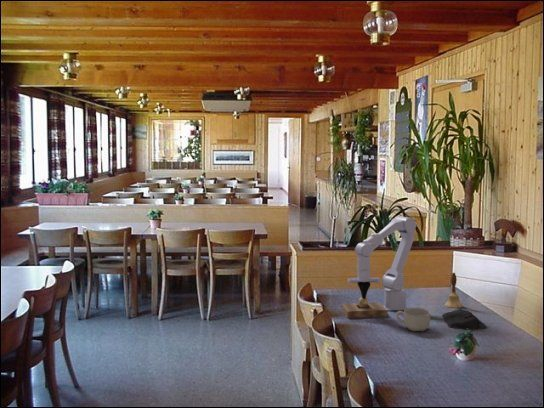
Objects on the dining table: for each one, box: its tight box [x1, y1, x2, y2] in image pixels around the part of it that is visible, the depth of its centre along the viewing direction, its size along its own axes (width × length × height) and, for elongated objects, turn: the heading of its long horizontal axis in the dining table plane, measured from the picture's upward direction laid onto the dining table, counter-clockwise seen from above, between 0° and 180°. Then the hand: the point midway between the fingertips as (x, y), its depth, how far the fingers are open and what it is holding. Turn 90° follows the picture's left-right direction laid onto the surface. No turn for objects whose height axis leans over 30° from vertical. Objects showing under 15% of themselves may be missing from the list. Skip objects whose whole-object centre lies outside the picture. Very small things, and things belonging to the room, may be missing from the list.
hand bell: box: [444, 272, 464, 309], centre depth 284 cm, size 8×8×16 cm
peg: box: [358, 296, 369, 309], centre depth 274 cm, size 4×4×7 cm
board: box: [341, 301, 388, 319], centre depth 275 cm, size 18×14×3 cm
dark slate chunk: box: [441, 308, 487, 330], centre depth 258 cm, size 15×22×5 cm
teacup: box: [395, 307, 431, 332], centre depth 248 cm, size 14×11×8 cm
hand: (363, 298), depth 274 cm, fingers closed
